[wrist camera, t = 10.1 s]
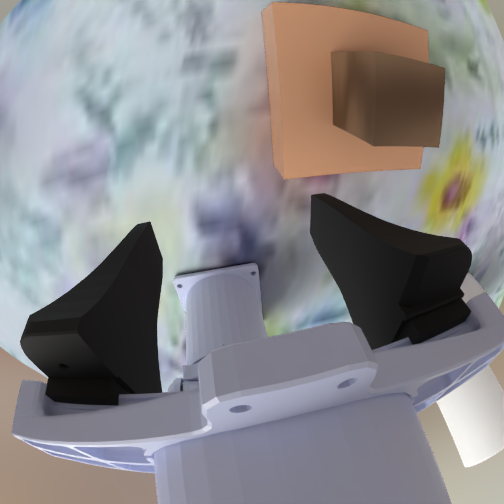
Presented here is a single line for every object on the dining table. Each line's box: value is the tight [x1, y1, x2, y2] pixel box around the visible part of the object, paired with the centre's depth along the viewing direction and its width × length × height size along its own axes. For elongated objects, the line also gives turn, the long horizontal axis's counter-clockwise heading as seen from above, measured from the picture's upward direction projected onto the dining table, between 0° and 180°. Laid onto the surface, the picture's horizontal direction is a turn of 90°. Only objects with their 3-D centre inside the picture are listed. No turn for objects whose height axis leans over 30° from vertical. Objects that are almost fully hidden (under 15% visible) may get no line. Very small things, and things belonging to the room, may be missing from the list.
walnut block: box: [331, 51, 445, 148], centre depth 13 cm, size 5×5×5 cm
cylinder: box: [436, 273, 504, 467], centre depth 29 cm, size 17×17×28 cm
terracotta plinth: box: [261, 2, 429, 179], centre depth 16 cm, size 12×12×3 cm
